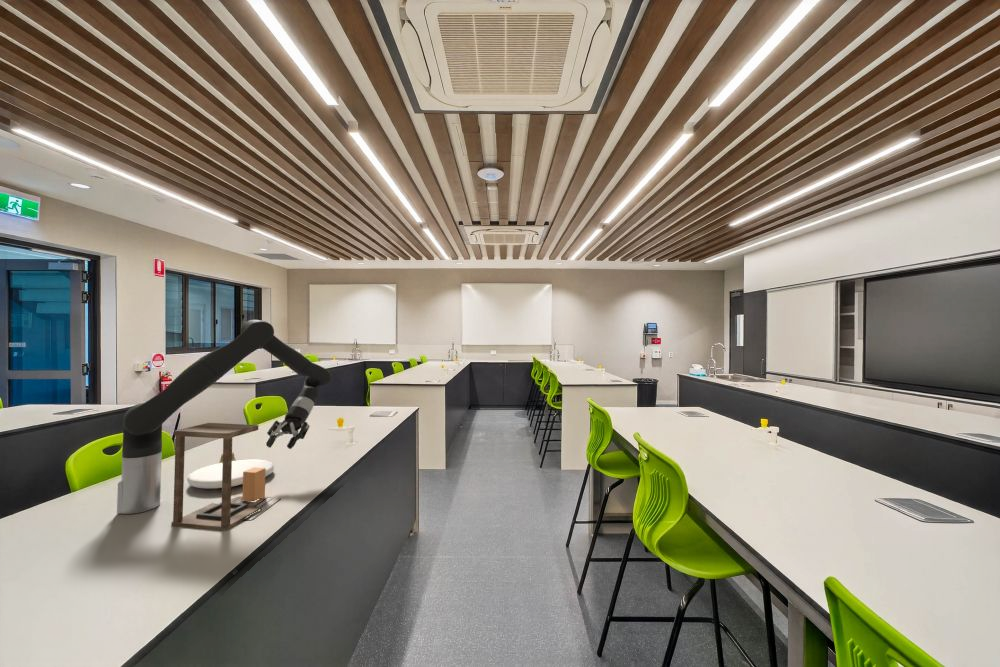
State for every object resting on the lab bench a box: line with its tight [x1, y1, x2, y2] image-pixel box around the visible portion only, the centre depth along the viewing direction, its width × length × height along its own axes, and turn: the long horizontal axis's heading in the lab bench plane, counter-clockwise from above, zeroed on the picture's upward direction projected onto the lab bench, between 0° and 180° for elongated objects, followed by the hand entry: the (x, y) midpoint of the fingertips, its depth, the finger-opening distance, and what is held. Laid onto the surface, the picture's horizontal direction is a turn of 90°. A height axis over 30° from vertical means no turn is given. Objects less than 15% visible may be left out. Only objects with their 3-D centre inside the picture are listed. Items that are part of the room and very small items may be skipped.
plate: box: [186, 458, 275, 489], centre depth 145 cm, size 28×6×27 cm
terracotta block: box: [242, 467, 266, 501], centre depth 128 cm, size 4×4×10 cm
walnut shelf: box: [171, 422, 262, 532], centre depth 115 cm, size 13×18×28 cm
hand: (278, 447), depth 139 cm, fingers open, 8 cm apart
